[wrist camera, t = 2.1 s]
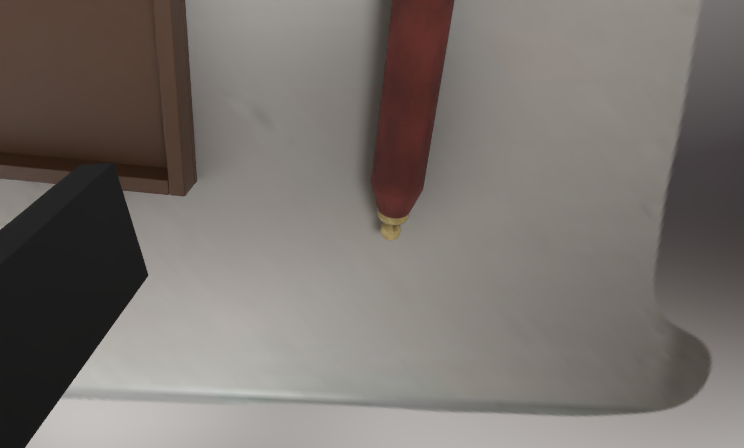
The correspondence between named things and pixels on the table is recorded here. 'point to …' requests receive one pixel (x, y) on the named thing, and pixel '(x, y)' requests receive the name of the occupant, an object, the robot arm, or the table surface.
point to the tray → (97, 92)
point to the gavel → (408, 106)
